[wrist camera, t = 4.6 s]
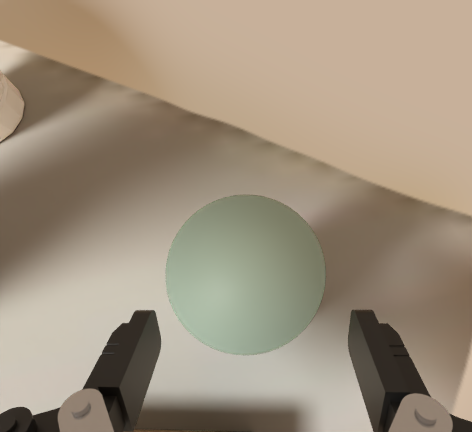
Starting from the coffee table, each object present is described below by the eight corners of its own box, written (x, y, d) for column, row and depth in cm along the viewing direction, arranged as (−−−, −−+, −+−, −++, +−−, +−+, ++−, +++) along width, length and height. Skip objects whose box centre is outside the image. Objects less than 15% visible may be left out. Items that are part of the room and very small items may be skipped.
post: (295, 342, 21) (333, 355, 9) (216, 342, 21) (159, 355, 10) (291, 262, 22) (318, 192, 11) (217, 264, 23) (170, 197, 11)
